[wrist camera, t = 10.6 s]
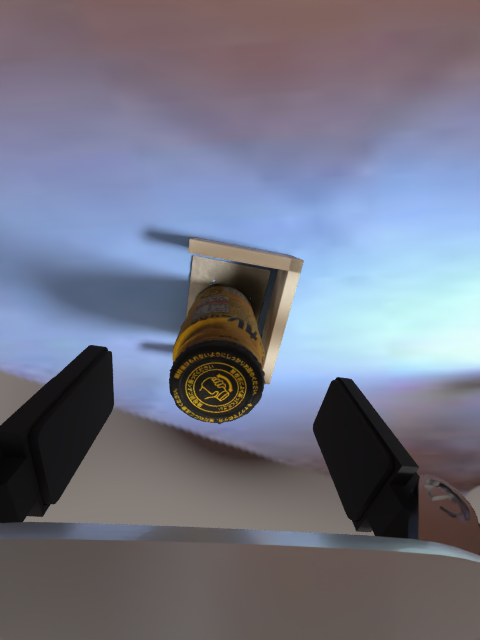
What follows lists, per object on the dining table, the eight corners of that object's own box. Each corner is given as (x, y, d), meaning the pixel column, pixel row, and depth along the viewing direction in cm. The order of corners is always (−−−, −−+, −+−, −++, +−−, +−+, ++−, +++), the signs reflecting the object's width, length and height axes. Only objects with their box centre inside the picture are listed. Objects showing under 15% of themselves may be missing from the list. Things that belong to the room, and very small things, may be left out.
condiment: (183, 337, 24) (147, 430, 13) (193, 255, 21) (156, 285, 10) (251, 347, 25) (271, 442, 14) (270, 269, 22) (314, 312, 11)
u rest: (195, 237, 21) (189, 238, 17) (292, 255, 22) (303, 260, 18) (182, 354, 25) (176, 372, 22) (264, 364, 26) (269, 384, 23)
